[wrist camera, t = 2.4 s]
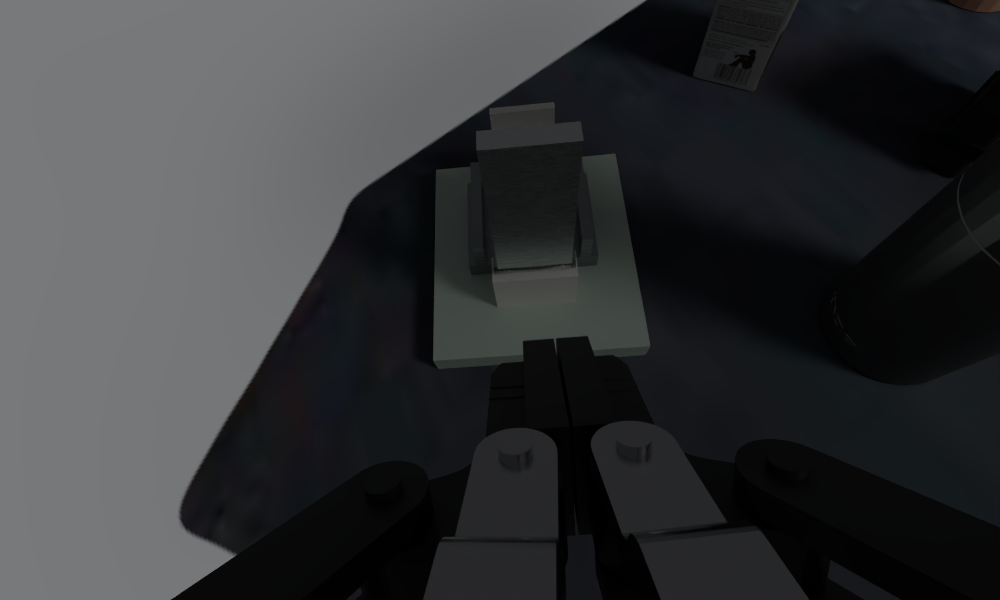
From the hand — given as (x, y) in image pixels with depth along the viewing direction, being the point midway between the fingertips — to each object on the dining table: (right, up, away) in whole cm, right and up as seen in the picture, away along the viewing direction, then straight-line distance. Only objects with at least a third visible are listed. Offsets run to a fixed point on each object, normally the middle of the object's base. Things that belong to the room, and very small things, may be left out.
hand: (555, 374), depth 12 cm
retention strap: (+1, +4, +23) cm, 23 cm away
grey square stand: (+1, +5, +31) cm, 31 cm away
